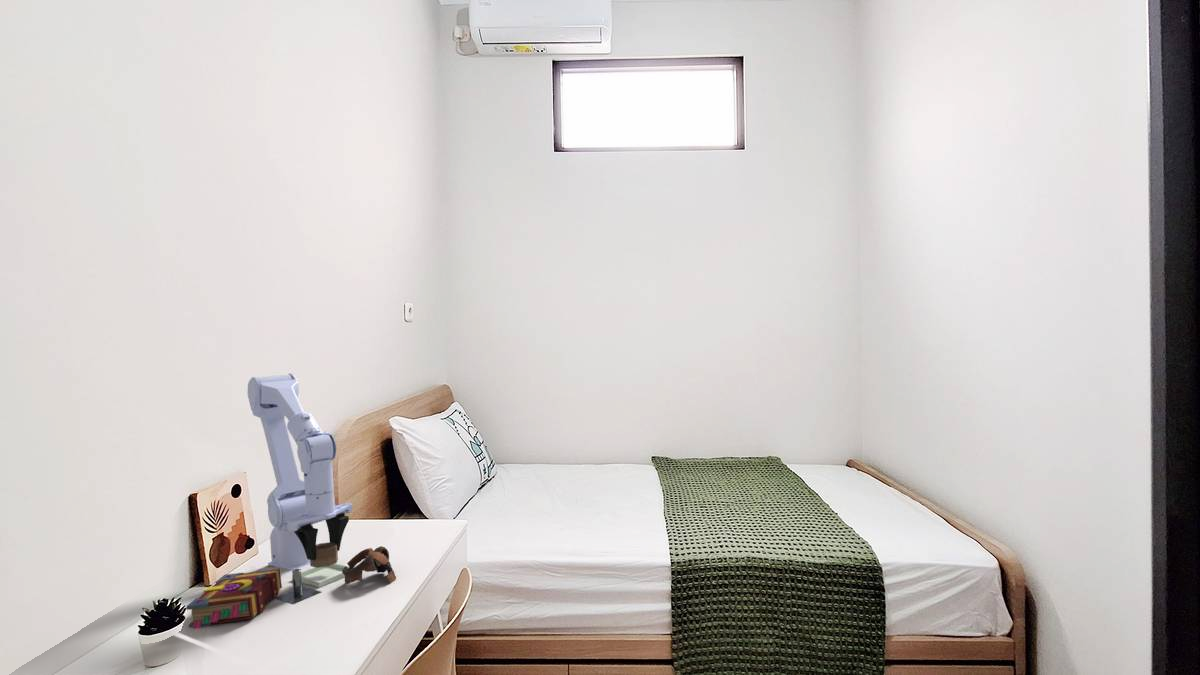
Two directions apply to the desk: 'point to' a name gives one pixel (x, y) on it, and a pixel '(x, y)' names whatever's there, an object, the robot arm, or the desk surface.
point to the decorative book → (235, 598)
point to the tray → (323, 575)
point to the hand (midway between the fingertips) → (323, 554)
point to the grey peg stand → (297, 590)
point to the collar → (325, 555)
